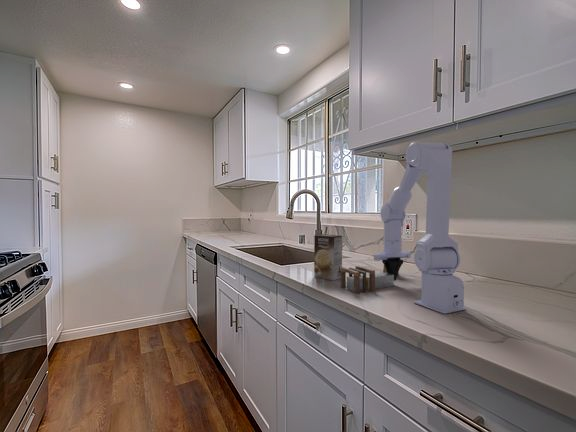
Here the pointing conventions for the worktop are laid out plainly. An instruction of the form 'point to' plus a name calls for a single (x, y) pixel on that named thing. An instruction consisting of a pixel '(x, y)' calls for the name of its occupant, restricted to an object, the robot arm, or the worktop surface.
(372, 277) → the wooden slatted rack
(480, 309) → the worktop surface
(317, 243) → the coffee box
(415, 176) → the robot arm
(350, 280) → the tube
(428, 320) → the worktop surface
